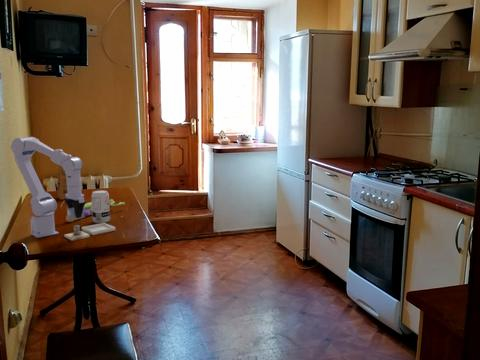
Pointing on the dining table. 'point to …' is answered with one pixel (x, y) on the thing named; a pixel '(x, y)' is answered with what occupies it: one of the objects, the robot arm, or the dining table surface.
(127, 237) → the dining table surface
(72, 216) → the pale blue cube
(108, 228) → the tray
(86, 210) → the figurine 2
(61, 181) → the coffee package
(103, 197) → the supplement can
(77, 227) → the post stand
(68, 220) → the figurine
